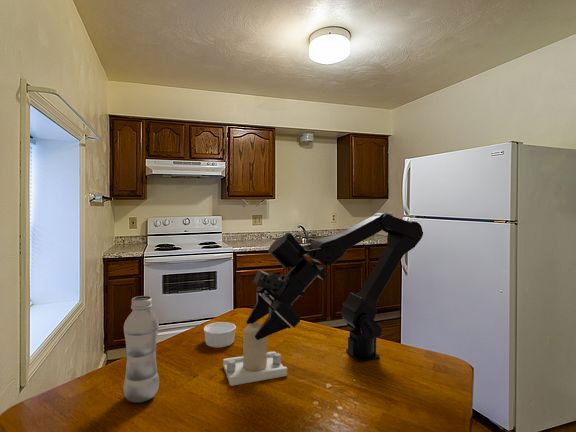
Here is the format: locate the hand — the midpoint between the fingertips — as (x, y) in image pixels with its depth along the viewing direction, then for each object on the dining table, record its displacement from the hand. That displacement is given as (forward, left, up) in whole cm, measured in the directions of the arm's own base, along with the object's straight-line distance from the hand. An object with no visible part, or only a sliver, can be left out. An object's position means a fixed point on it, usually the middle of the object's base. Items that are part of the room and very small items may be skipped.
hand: (251, 330), depth 76 cm
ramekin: (+4, -19, -10) cm, 22 cm away
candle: (-1, 0, -9) cm, 9 cm away
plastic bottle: (+23, +3, -10) cm, 25 cm away
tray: (-1, 0, -10) cm, 10 cm away
